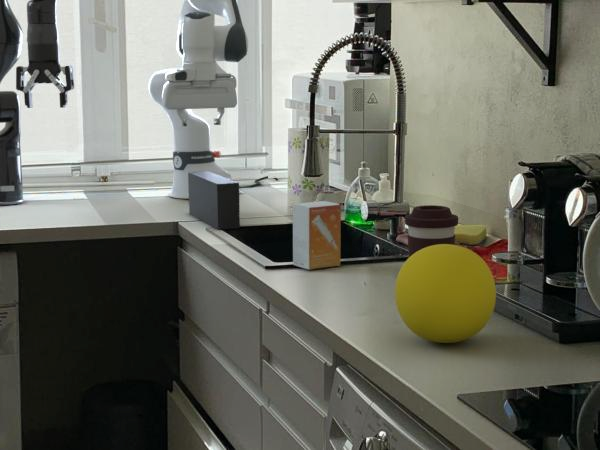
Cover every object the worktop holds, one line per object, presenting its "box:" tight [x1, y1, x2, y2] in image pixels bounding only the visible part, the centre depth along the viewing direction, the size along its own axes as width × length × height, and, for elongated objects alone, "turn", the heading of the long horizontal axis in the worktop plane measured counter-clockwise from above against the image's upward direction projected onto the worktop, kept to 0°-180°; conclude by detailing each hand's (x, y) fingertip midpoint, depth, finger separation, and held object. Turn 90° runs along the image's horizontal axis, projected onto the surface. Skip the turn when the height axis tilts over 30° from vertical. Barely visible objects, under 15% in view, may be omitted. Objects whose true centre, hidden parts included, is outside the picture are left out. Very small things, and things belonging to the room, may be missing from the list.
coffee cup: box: [404, 204, 459, 258], centre depth 197 cm, size 10×10×15 cm
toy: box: [394, 244, 497, 344], centre depth 160 cm, size 15×15×15 cm
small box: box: [292, 200, 342, 271], centre depth 216 cm, size 8×6×13 cm
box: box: [188, 171, 241, 231], centre depth 276 cm, size 28×6×12 cm, turn 21°
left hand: (46, 107), depth 263 cm, fingers open, 8 cm apart
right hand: (200, 125), depth 282 cm, fingers open, 8 cm apart
